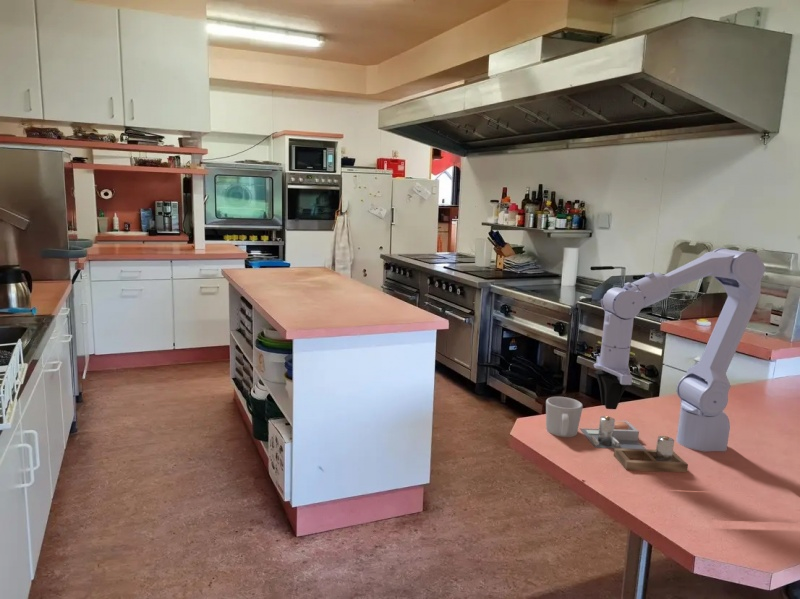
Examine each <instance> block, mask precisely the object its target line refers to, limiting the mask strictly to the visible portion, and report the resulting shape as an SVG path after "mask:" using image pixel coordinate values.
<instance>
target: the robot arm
mask: <svg viewBox="0 0 800 599" xmlns="http://www.w3.org/2000/svg"><path fill="white" fill-rule="evenodd" d="M766 270H767V268H766V266H765V264H764V262H763V260H762V257H760V255H759V254H757V253H756V252H753V251H742V250H736V249H735V250H734V249H728V248H725V247H720V248H719V247H718V248H716V249H714V250H711V251H708V252H704V254H703V255H701V256H699V257H698V258H695V259H693V260H692V261H690V262H688V263H687V262H686V263H685V264H683V265H681V266H680V267H677V268H675V269H673V270H672V271H669V272H668V273H665V274H664V273H663V274H662V273H660V272H652V271H648V272H646V273H645V274H644V277H642V278H640V279H638V280H635V281H633V282H628V281H627V282H626V283H624V284H623V285H624V286H623V287H619V286H618V287H617V286H616V287H611V288H610V289H608V290H607V291H606V293H604V295H603V297H602V298H601V299H600V305H601V308H602V309H603V311H604V319H603V327H602V335H601V336H602V337H601V345H600V347H601V348H600V355H596V362H595V363H593V367H594V368H595V369H597V370H595V371H594V375H595V377H596V379H597V383H598V386H599V392H600V401H601V405H602V406H604V407H605V409H607V410H617V408H618V405H619V403H620V402H621V401H620V400H621V398H622V396H623V394H624V392H625V391H626V389H627V388H628V386H632V382H633V381H632V380H633V375H632V374H631V372H630V367H629V364H630V363H629V361H630V353H631V345H632V344H631V343H632V336H633V328H634V318H636V317H637V316H638V315H639V314H640V312H641V310H642V309H644V308H647V307H649V306H651V305H654V304H655V303H658V302H661V301H662V300H665V299H668V298H669V297H670V296H671V293H672V291H673V290H674V289H676V288H678V287H682V286H685V285H687V284H690V283H692V282H695V281H698V280H700V279H704V278H706V277H713V278H714V279H715V280H716V281H717V282H718V283H719V284H721V286H722V287H723V289H724V291H725V292H726V295H727V297H726V299H725V301H724V302H725V303H724V304H723V307H722V310H721V311H720V312H719V316H718V318H717V320H716V322H715V325H714V327H713V330H712V332H711V334H710V337H709V339H708V342H707V344H706V346H705V348H704V351H703V353H702V355H701V357H700V360H699V362H698V363H696V364H694V365H692V366H690V367H688V368H687V370H686V373H685V374H684V375H683V377H681V378H680V379H679V381H678V382H677V384H676V388H675V389H676V390H675V392H676V395H677V396H678V398H679V399H680V402H679V403H680V410H679V418H678V424H677V426H678V427H677V431H676V432H677V434H676V440H675V441H676V443H677V444H679V445H680V446H682V447H685V448H687V449H691V450H695V451H700V452H727V448H728V443H729V442H728V441H729V436H730V430H731V429H730V428H731V423H730V419H729V416H728V415H727V413H726V412H724V410H725V409H726V408H727V406H728V403H729V392H730V389H731V386H732V385H731V383H730V381H729V379H728V378H729V377H728V376H727V372H728V369H729V367H730V365H731V363H732V360H733V358H734V356H735V354H736V351H737V349H738V347H739V345H740V344H741V340H742V338H743V336H744V333H745V331H746V329H747V327H748V324H749V322H750V320H751V319H752V316H753V313H754V311H755V309H756V306H757V304H758V302H759V301H760V297H761V292H762V290H761V289H762V285H761V283H762V279H763V277H764V274H765V272H766Z"/></svg>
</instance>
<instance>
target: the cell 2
mask: <svg viewBox="0 0 800 599" xmlns="http://www.w3.org/2000/svg"><path fill="white" fill-rule="evenodd" d="M656 440H657V442H656V449H655V450H656V455H655V459H656V460H657V461H668V462H671V461H672V454H673V452H674V445H675V440H674V438H672V437H670V436H667V435H666V436H665V435H663V436H662V435H659V436H658V437H657V439H656Z"/></svg>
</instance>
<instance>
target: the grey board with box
mask: <svg viewBox="0 0 800 599" xmlns="http://www.w3.org/2000/svg"><path fill="white" fill-rule="evenodd" d="M620 421H621V422H625V423H627V424H628V425H629V429H628V430H621V429H614V432H613V441H612V445H611V446H605V445H601V444H599V441H598V432H599V428H579V427H578V430H580V431H581V433H582V434H584V436H585V437H586V438H587V439H588V441H589V442H590V443H591V445H592V446H593V447H594V448H596V449H613V450H614V448H622V449H647V448H645V446H644V445H643V444H642V443H640V442H639V435H640V431H639V430H638V429H637V428H636V427H635V426H634V425H633V424H632V423H631V422H629V421H628V420H620Z"/></svg>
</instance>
